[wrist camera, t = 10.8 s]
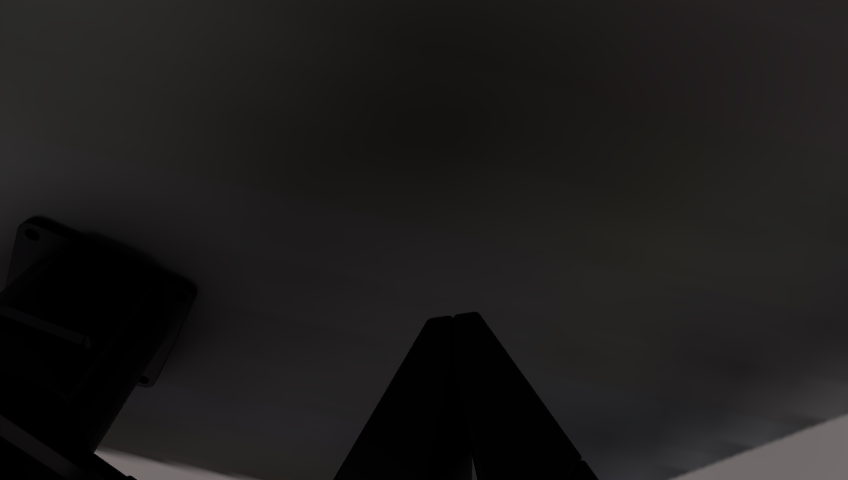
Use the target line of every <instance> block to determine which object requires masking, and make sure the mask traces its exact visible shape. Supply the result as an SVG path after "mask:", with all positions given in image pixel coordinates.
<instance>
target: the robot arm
mask: <svg viewBox="0 0 848 480" xmlns="http://www.w3.org/2000/svg"><path fill="white" fill-rule="evenodd" d="M33 230H35V231H36V232H37V233H38V234H37V233H35V232H34V231H33ZM179 292H181V293H183V294H185V295H186V296H184V295H181V294H180V293H179ZM196 295H197V291H196V288H195V287H194V286H193V285H192V284H190V283H188V282H186V281H184V280H182V279H179V278H177V277H175V276H172V275H170V274H168V273H165V272H163V271H161V270H158V269H156V268H154V267H151V266H149V265H147V264H144V263H142V262H140V261H137V260H135V259H133V258H130V257H128V256H126V255H124V254H121V253H119V252H117V251H114V250H112V249H110V248H107V247H105V246H103V245H100V244H98V243H96V242H93V241H91V240H89V239H86V238H84V237H82V236H79V235H77V234H75V233H72V232H70V231H68V230H65V229H63V228H61V227H59V226H56V225H54V224H52V223H49V222H47V221H45V220H42V219H39V218H29V219H27V220H26V221H25V222H23V223H22V224H21V225H19V227H18V230H17V234H16V239H15V244H14V249H13V253H12V258H11V263H10V268H9V273H8V277H7V282H6V287H5V289H4V290H3V291H2V292H0V480H136V479H135V478H134V477H132V476H125V475H124V474H122V473H121V472H120V471H118V470H117V469H116V468H114V467H112V466H111V465H110V464H108V463H107V462H106V461H104V460H103V459H101V458H100V457H98V456H97V455H96V454H94V452H95V450H96V449H97V447H98V445H99V444H100V442H101V441H102V439H103V437H104V436H105V434H106V433H107V431H108V429H109V428H110V426H111V424H112V423H113V421H114V420H115V418H116V416H117V415H118V413H119V412H120V410H121V408H122V407H123V405H124V404H125V402H126V400H127V399H128V397H129V396H130V394H131V392H132V391H133V389H134V387H135V386H136V385H138V386H141V387H151V386H153V385H154V384H155V382H156V380H157V379H158V377H159V375H160V373H161V370H162V368H163V366H164V364H165V362H166V360H167V358H168V355H169V353H170V351H171V349H172V347H173V345H174V343H175V341H176V338H177V336H178V334H179V332H180V330H181V328H182V326H183V323H184V321H185V319H186V317H187V315H188V313H189V311H190V309H191V306H192V304H193V302H194V300H195V298H196ZM472 457H473V461H474V466H475V470H476V475H477V479H478V480H598V478H597V477H596V476H595V474H594V473H593V471H592V470H591V469H590V467H589V466H588V464H587V463H586V462H585V461H583V460H582V457H581V455H580V454H579V452H578V451H577V449H576V448H575V447H574V445H573V444H572V442H571V441H570V440H569V438H568V437H567V435H566V434H565V433H564V431H563V430H562V428H561V427H560V426H559V424H558V423H557V422H556V420H555V419H554V417H553V416H552V415H551V413H550V412H549V410H548V409H547V408H546V406H545V405H544V403H543V402H542V401H541V399H540V398H539V396H538V395H537V394H536V392H535V391H534V389H533V388H532V387H531V385H530V384H529V382H528V381H527V380H526V378H525V377H524V375H523V374H522V373H521V371H520V370H519V368H518V367H517V366H516V364H515V363H514V361H513V360H512V359H511V357H510V356H509V354H508V353H507V352H506V350H505V349H504V347H503V346H502V345H501V343H500V342H499V340H498V339H497V338H496V336H495V335H494V333H493V332H492V331H491V329H490V328H489V326H488V325H487V324H486V322H485V321H484V319H483V318H482V317H481V315H480V314H479V313H478V312H469V313H462V314H457V315H455V316H454V318H452V316H442V317H435V318H430V319H429V320H427V322H426V323H425V325H424V327H423V328H422V330H421V332H420V333H419V335H418V337H417V338H416V340H415V342H414V344H413V345H412V347H411V349H410V350H409V352H408V354H407V355H406V357H405V359H404V361H403V362H402V364H401V366H400V367H399V369H398V371H397V372H396V374H395V376H394V378H393V379H392V381H391V383H390V384H389V386H388V388H387V389H386V391H385V393H384V394H383V396H382V398H381V400H380V401H379V403H378V405H377V406H376V408H375V410H374V411H373V413H372V415H371V417H370V418H369V420H368V422H367V423H366V425H365V427H364V428H363V430H362V432H361V434H360V435H359V437H358V439H357V440H356V442H355V444H354V445H353V447H352V449H351V450H350V452H349V454H348V456H347V457H346V459H345V461H344V462H343V464H342V466H341V467H340V469H339V471H338V473H337V474H336V476H335V478H334V479H333V480H472Z"/></svg>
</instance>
